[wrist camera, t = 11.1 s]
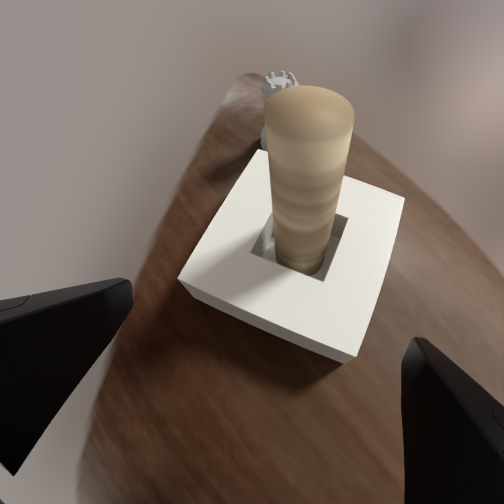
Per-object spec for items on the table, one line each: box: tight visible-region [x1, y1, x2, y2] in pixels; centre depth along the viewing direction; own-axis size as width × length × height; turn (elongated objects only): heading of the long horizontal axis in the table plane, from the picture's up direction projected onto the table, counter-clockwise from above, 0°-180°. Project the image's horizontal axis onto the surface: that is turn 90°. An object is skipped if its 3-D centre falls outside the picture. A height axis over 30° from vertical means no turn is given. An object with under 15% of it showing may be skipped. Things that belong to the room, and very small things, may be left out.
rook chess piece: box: [261, 71, 300, 152], centre depth 26 cm, size 4×4×8 cm
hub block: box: [177, 149, 405, 364], centre depth 22 cm, size 12×12×4 cm
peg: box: [264, 86, 354, 276], centre depth 17 cm, size 4×4×13 cm
